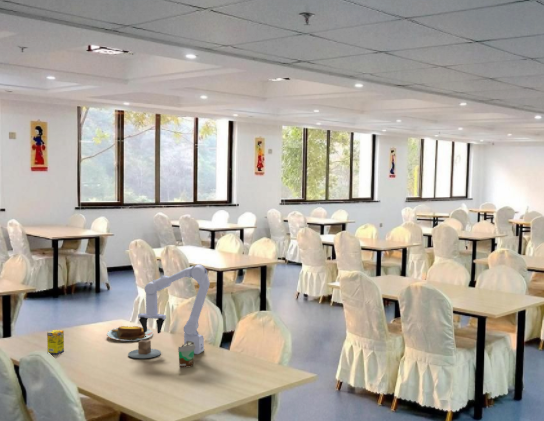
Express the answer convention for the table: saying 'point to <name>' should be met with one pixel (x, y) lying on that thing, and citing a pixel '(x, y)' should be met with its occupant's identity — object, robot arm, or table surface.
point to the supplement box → (55, 342)
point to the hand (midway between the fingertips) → (152, 332)
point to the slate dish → (152, 354)
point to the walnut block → (144, 347)
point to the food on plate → (129, 333)
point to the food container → (186, 354)
